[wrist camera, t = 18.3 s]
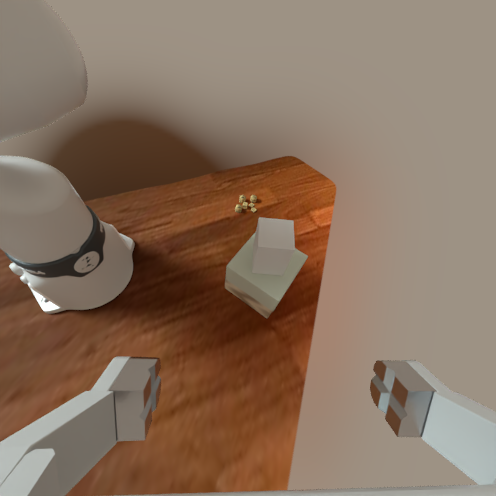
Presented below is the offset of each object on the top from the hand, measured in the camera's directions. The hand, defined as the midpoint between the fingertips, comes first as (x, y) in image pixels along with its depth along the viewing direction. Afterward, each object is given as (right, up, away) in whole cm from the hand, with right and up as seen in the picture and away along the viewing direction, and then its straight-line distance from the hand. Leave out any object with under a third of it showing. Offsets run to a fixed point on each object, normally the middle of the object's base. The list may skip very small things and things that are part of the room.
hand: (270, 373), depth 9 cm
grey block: (+2, +3, +32) cm, 32 cm away
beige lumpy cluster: (-1, +15, +52) cm, 54 cm away
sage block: (+2, 0, +36) cm, 36 cm away
